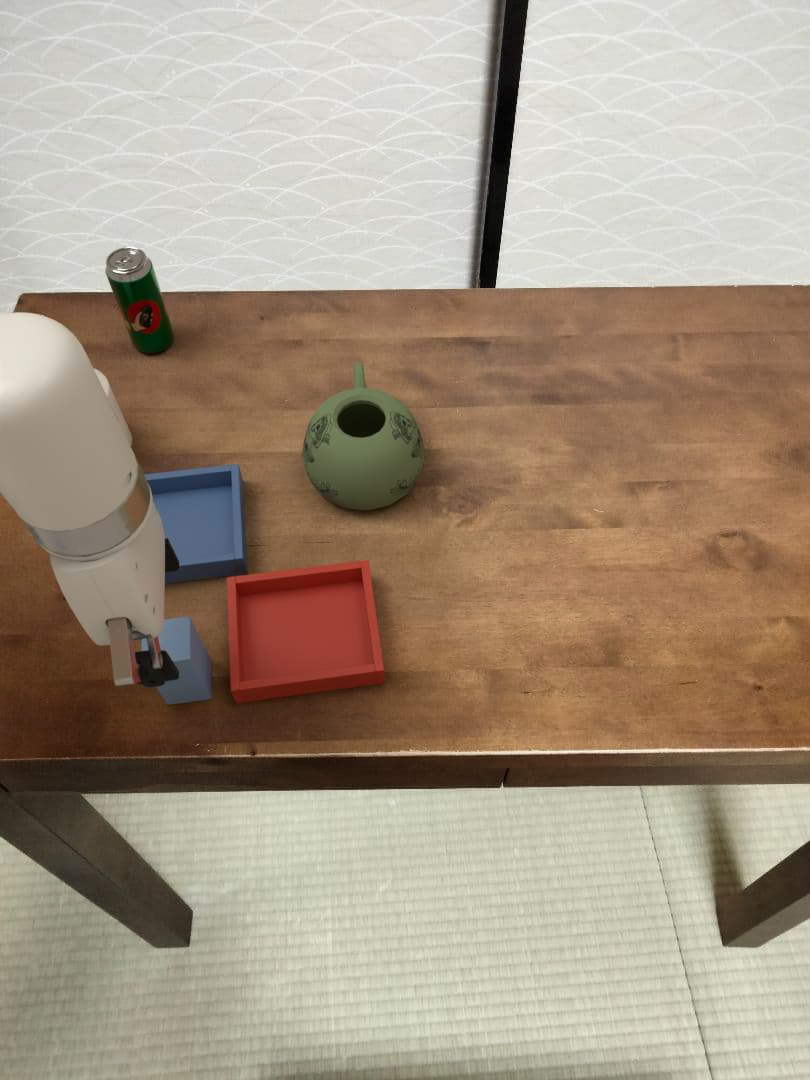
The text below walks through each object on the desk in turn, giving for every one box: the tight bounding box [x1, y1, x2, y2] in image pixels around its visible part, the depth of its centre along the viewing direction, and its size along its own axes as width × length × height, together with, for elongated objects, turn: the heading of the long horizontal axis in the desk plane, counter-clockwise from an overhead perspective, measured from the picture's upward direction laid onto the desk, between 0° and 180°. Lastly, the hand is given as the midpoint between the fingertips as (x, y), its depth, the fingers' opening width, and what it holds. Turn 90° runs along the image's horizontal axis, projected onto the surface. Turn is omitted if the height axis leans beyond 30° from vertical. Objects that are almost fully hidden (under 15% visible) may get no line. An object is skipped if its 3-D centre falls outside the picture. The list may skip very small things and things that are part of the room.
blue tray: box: [143, 463, 249, 585], centre depth 83 cm, size 14×12×3 cm
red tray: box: [226, 559, 386, 704], centre depth 76 cm, size 14×12×3 cm
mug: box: [301, 361, 426, 511], centre depth 85 cm, size 16×13×9 cm
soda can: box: [105, 246, 175, 354], centre depth 93 cm, size 5×5×12 cm
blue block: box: [141, 615, 213, 706], centre depth 71 cm, size 4×4×9 cm
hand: (159, 621), depth 65 cm, fingers open, 9 cm apart
